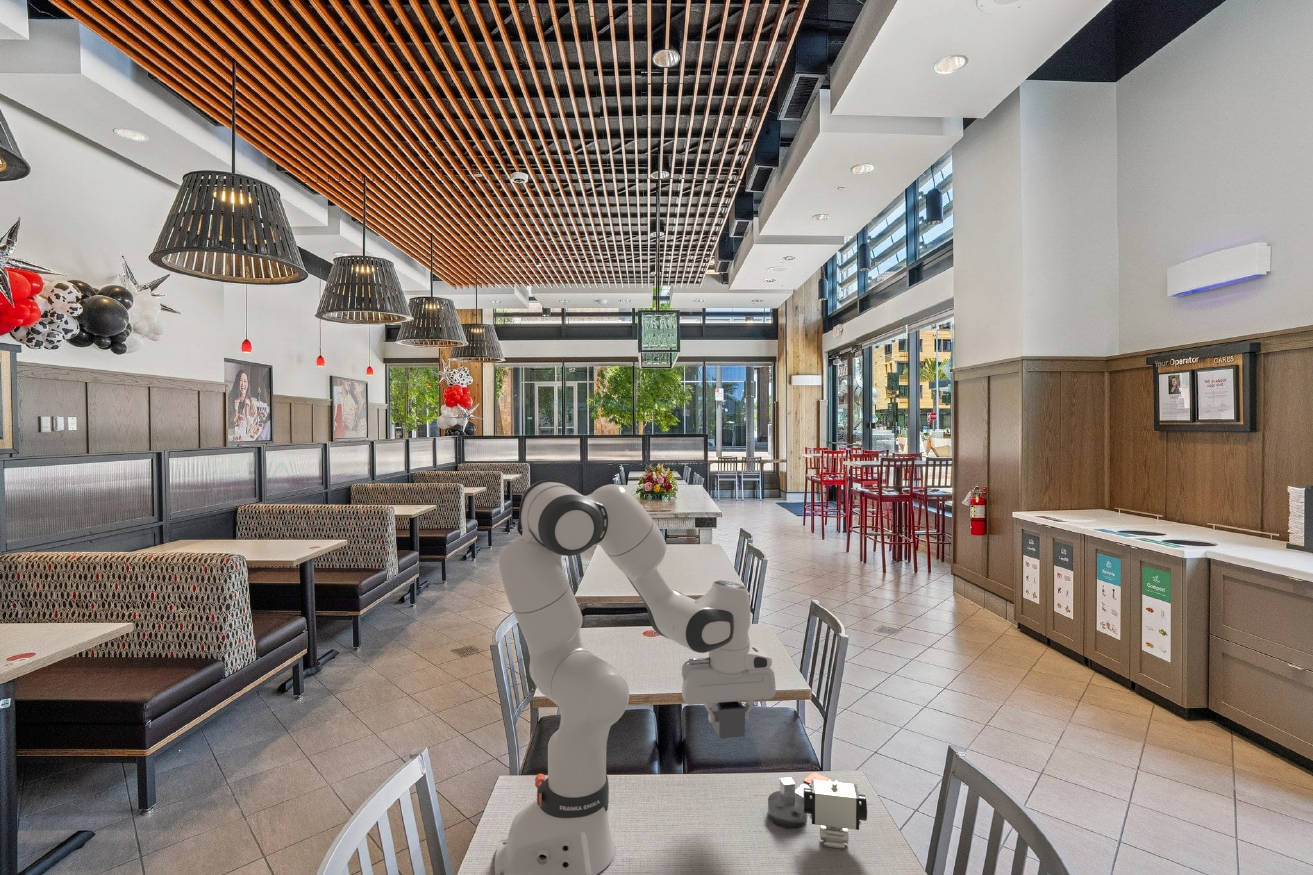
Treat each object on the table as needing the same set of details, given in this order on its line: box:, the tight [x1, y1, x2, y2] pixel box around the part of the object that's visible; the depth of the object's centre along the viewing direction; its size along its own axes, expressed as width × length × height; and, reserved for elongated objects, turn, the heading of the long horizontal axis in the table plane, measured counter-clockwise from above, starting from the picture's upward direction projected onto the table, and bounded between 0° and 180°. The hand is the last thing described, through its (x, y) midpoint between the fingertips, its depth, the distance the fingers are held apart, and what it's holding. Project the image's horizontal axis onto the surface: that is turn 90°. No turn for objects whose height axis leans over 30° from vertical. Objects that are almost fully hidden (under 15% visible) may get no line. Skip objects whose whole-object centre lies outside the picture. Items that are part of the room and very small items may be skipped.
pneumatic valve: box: [803, 779, 868, 850], centre depth 120 cm, size 6×12×12 cm, turn 78°
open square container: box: [711, 701, 746, 740], centre depth 132 cm, size 6×6×6 cm
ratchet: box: [767, 772, 830, 830], centre depth 132 cm, size 18×8×8 cm, turn 136°
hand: (728, 720), depth 132 cm, fingers closed on open square container, 6 cm apart
